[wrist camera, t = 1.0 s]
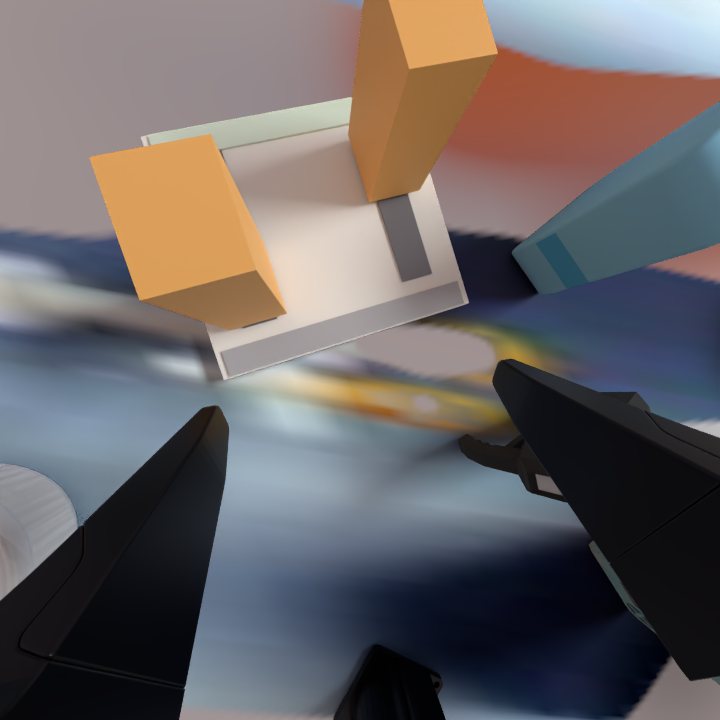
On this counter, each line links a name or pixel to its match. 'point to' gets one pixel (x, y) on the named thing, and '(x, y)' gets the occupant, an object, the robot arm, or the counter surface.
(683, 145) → the data package
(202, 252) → the orange rectangular block
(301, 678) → the counter surface
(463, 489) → the counter surface
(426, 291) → the dip bank
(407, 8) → the tab
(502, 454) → the gun
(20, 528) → the ramekin
